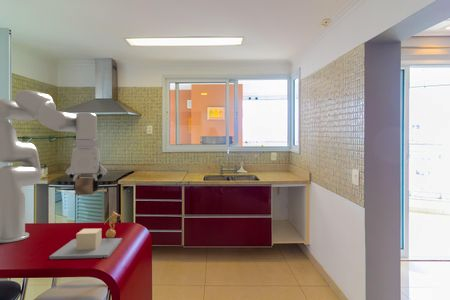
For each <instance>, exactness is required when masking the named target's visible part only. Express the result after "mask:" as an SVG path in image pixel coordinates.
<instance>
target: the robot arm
mask: <svg viewBox="0 0 450 300" xmlns="http://www.w3.org/2000/svg"><path fill="white" fill-rule="evenodd" d="M36 119H37V121H38V122H39V124H41V125H42V126H44V127H46V128H48V129H50V130H53V131H55V132H69V133H75V140H74V141H72V142H71V145H72V146H75V147H73V148H72V153H71V157H70V158H71V159H70V166H69V167H68V168H67V169H66V170H65V171H64V172H65V174H67V175H68V176H69V178H70V179H71V180H72V181H73V189H74V190H75V179H77V178H81V175H92V177H93V178H94V181H93V191H97V192H98V190H99V189H100V188H99V186H100V184H99V183H100V180H101V179H102V178H103V177H104V175H106V174H107V173H108V170H107V169H106V168H105V167H104V166H103V165H102V161H101V160H102V159H101V153H100V152H101V151H100V148H98V116H97V114H96V113H94V112H88V111H87V112H83V111H81V112H78V113H72V112H68V111H59V110H58V109H57V106H56V103H55V102H54V99H53V98H52V96H51V95H50V94H47V93H45V92H41V91H37V90H31V89H21V90H19V91H17V92H16V93H15V94H14V100H12V99H5V98H4V99H3V98H0V163H5V164H6V163H7V164H12V163H13V164H15V163H17V164H18V163H20V164H18V165H17V164H15V165H13V164H12V165H4V166H1V167H0V244H2V243H3V244H4V243H5V244H6V243H13V242H14V243H15V242H19V241H22V240H25V239H27V238H29V237H30V233H29V232H26V195H25V193H24V191H23V190H22V189H21V187H28V186H29V187H30V186H34V185H37V184H38V183H40V181H41V179H42V168H41V164H40V158H39V157H40V156H39V151H38V149H37V147H36V145H35V144H33V142H29V141H20V140H19V139H18V134H17V131H16V129H15V127H14V126H13V124H12V123H11V122H9V120H12V121H18V122H19V121H20V122H30V121H31V122H32V121H34V120H36Z"/></svg>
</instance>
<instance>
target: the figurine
mask: <svg viewBox="0 0 450 300" xmlns="http://www.w3.org/2000/svg"><path fill="white" fill-rule="evenodd" d="M118 217H119V219H118V220H119V221H122V215H121V214H118V213H117V212H115V211H114V210H113V211H112V213H111V216H109V217H108V218H107V219H106V220H105V221H104V225H105V224H106V223H107V222H108V221H109V220H110V219H111V220H110V222H109V223H108V225H109V227H110V228H108V230H107V231H106V232H105V236H106V238H115V236H116V233H117V232H116V230H115V226H116V225H115V223H116V222H117V218H118Z"/></svg>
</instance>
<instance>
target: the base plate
mask: <svg viewBox="0 0 450 300" xmlns="http://www.w3.org/2000/svg"><path fill="white" fill-rule="evenodd" d="M102 231H103V230H102V227H101V228H82V229H80V230H79V232H77V233H76V234H75V235H76V236H75V237H76V238H74V239H71V240H70V241H69V242H67V243H66V244H64V245H63V246H62V247H60V248H59V249H58V250H56V251H55V252H53V253H52V254H51V255H49V260H68V259H72V260H73V259H100V258H101V259H103V257H104V259H105V258H109V257H110V256H111V255H112V253H113V252H114V251H115V250H116V249H117V248H118V246H119V245H120V244H121V242H122V241H123V238H122V237H120V238H119V237H116V238H115V237H113V238H107V237H106V238H105V237H104V238H102V235H103V234H102V233H103V232H102Z"/></svg>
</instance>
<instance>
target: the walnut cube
mask: <svg viewBox="0 0 450 300" xmlns="http://www.w3.org/2000/svg"><path fill="white" fill-rule="evenodd" d="M93 181H94V178H93V176H92V177H90V176H88V177H81V176H80V178H77V179H75V189H74V195H76V196H78V195H79V196H82V195H83V196H84V195H87V196H91V195H94V194H96V193H98V190H97V191H93Z"/></svg>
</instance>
